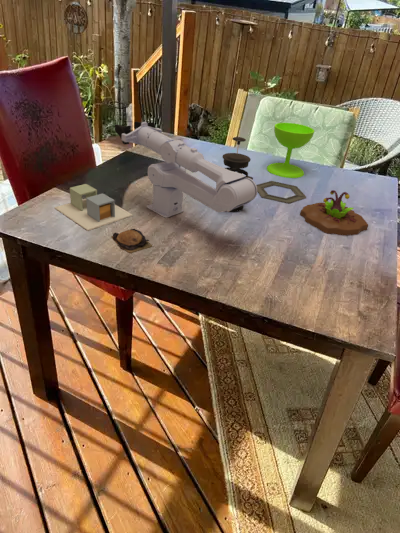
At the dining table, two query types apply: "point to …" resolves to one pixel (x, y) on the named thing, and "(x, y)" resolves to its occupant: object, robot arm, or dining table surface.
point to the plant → (334, 216)
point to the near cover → (97, 201)
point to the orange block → (104, 211)
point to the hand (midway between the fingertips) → (125, 126)
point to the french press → (237, 164)
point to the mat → (85, 219)
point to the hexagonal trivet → (264, 194)
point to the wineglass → (290, 147)
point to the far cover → (79, 191)
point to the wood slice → (131, 240)
